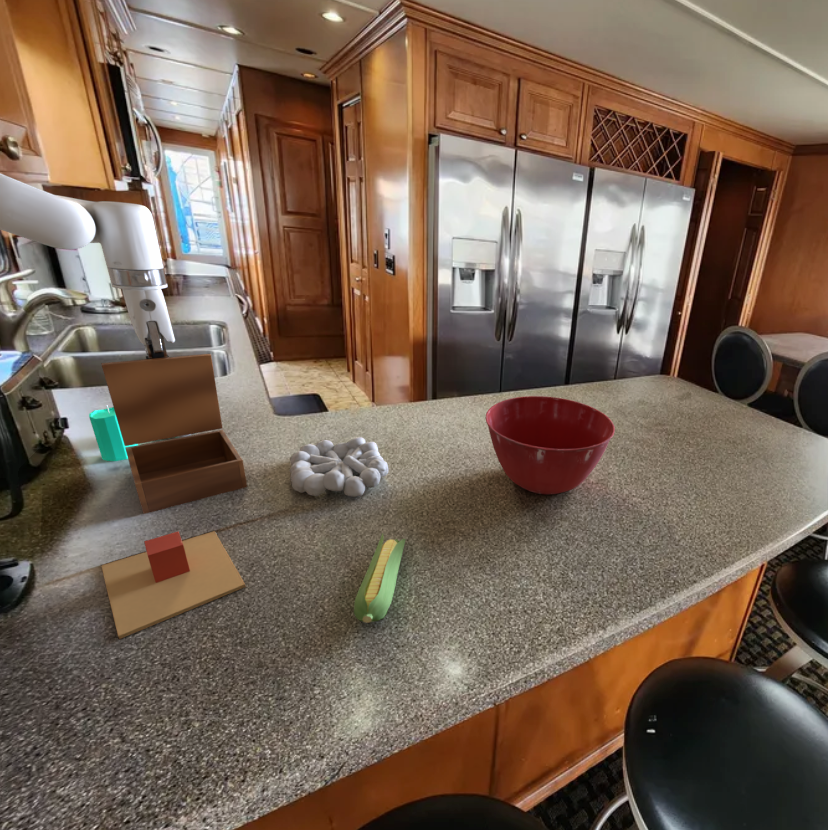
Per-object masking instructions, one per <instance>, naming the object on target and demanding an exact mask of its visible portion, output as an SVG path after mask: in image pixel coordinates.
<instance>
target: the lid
mask: <svg viewBox="0 0 828 830" xmlns="http://www.w3.org/2000/svg"><path fill="white" fill-rule="evenodd" d="M100 366H101V369H102V372H103V375H104V379H105V382H106V386H107V389H108V393H109V397H110V399H111V404H112V407H114V410H115V414H116V417H117V421H118V424H119V428H120V431H121V435H122V438H123V441H124V445H125V446H129V445H134V444H138V445H141V444H146V443H152V442H157V441H163V440H168V439H174V438H173V437H178V436H184V435H189V434H191V435H195V434H201V433H206V432H212V431H217V430H223V423H222V416H221V410H220V409H221V408H220V404H219V396H218V389H217V385H216V384H217V383H216V378H215V377H216V376H215V372H214V371H215V370H214V366H213V359H212V354H211V353H202V354H189V355H179V356H178V355H177V356H169V357H166V358H154V359H146V358H144V359H134V360H123V361H121V360H120V361H110V362H101V363H100ZM189 436H190V435H189Z"/></svg>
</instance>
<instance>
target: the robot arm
mask: <svg viewBox="0 0 828 830" xmlns="http://www.w3.org/2000/svg"><path fill="white" fill-rule="evenodd" d="M0 231H3V232H6V233H10V234H13V235H16V236H18V237H20V238H24V239H27V240H29V241H33V242H35V243H39V244H42V245H45V246H48V247H51V248H55V249H59V250H60V249H61V250H78V249H82V248H84V247H86V246H88V245H89V244H100V246H101V249H102V253H103V257H104V261H105V265H106V269H107V272H108V276H109V280H110V285H111V287H112V288H115V289H119V290H122V294H123V300H124V302H125V306H126V309H127V313H128V316H129V320H130V323H131V326H132V328H133V331H134V332H135V336H137V339H138V341H139V343H140V344H141V345H144V350H145V354H146V355H145V359H154V358H166V357H170V356H169V355H168V351H167V347H166V342H169V343H171V344H174V343H175V342H176V338H175V334H174V330H173V327H172V322H171V318H170V315H169V314H170V313H169V311H168V307H167V303H166V299H165V296H164V292H163V291H162V289H166V288H168V281H167V277H166V273H165V267H164V263H163V259H162V254H161V249H160V246H159V240H158V235H157V231H156V226H155V220H154V217H153V214H152V212H151V210H150V209H149V208H148V207H147V206H145V205H142V204H139V203H138V204H137V203H131V202H121V201H107V200H106V201H105V200H103V201H102V200H101V201H92V200H86V199H80V198H75V197H74V198H73V197H69V196H64V195H57V194H53V193H51V192H48V191H45V190H43V189H40V188H38V187H35V186H33V185H31V184H27V183H25V182H22V181H20V180H18V179H15V178H13V177H10V176H7V175H6V174H3V173H1V172H0ZM165 340H166V342H165Z"/></svg>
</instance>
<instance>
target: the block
mask: <svg viewBox="0 0 828 830" xmlns="http://www.w3.org/2000/svg"><path fill="white" fill-rule="evenodd" d="M182 540H183V539H182V537H181V534H180V531H179V530H178V531H174V532H171V533H168V534H164V535H161V536H157V537H154V538H151V539H147V540H144V541H143V542H144V547H145V551H147V555H148V559H149V562H150V565H151V569H152V572H153V576H154V579H155V582H156V583H157V582H160V581H163V580H166V579H169V578H172V577H175V576H178V575H181V574H184V573H186V572H189V571H190V569H189V565H188V561H187V557H186V553H185V549H184V545H183V542H182Z"/></svg>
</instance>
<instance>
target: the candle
mask: <svg viewBox="0 0 828 830" xmlns="http://www.w3.org/2000/svg"><path fill="white" fill-rule="evenodd" d="M88 417H89V421H90V424H91V428H92V431H93V434H94V437H95V441H96V443H97V447H98V449H99V454H100V456H101V459H102V460H103V461H106V462H119V461H124V460H128V456H127V452H126V448H125V447H131V446H136V445H139V444H134V445H129V446H125V445H124V441H123V438H122V435H121V431H120V428H119V424H118V421H117V417H116V414H115V410H114V407H113V406H111V407H109V405H108V404H106V408H103V409H94V410H92V411H91V412H89V414H88Z"/></svg>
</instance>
